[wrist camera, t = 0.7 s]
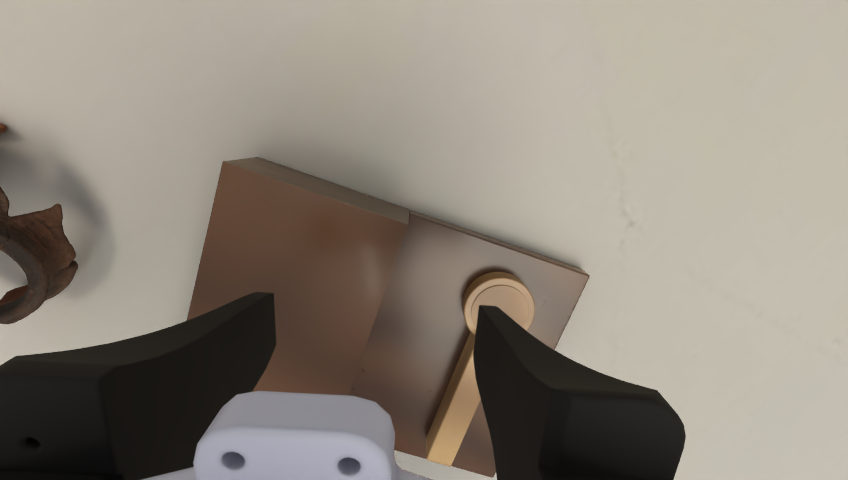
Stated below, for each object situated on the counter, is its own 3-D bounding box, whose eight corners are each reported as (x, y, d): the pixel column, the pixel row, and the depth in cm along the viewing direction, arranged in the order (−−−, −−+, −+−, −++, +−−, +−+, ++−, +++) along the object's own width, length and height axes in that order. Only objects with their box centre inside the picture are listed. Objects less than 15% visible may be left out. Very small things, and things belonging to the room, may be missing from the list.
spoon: (466, 450, 26) (469, 472, 24) (407, 433, 26) (406, 455, 24) (541, 283, 23) (550, 295, 21) (476, 262, 23) (481, 272, 21)
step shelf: (490, 464, 28) (502, 518, 24) (201, 381, 26) (163, 425, 22) (582, 269, 24) (614, 294, 20) (257, 156, 22) (222, 161, 18)
